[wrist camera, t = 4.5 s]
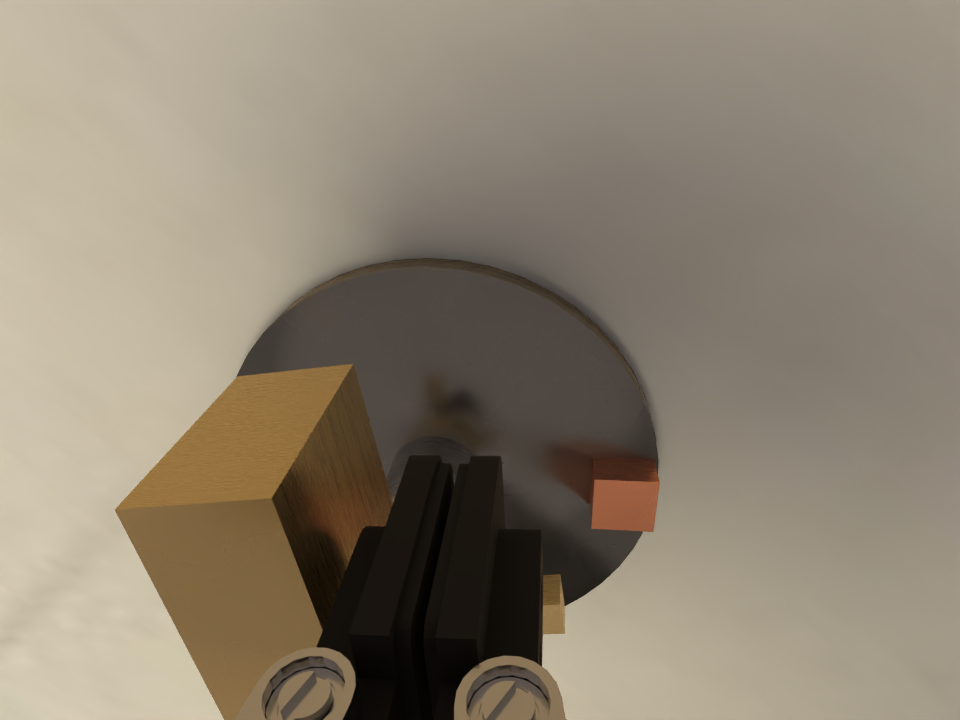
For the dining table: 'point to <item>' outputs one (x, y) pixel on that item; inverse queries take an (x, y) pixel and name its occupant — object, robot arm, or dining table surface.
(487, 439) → the post base
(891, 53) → the dining table surface
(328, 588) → the gold bar handle
